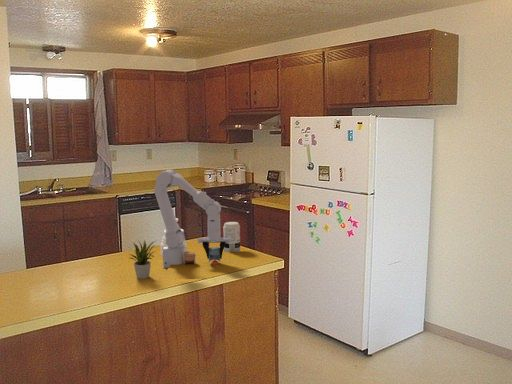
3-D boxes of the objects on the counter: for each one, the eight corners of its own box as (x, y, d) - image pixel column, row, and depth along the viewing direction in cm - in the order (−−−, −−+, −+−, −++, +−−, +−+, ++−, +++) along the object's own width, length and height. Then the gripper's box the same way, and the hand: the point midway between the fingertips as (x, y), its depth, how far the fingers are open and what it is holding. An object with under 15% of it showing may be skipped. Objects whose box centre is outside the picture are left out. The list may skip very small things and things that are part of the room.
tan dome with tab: (183, 268, 221) (183, 255, 220) (185, 265, 226) (185, 252, 225) (194, 268, 221) (194, 255, 220) (196, 265, 226) (195, 252, 225)
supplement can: (221, 251, 249) (220, 222, 246) (236, 249, 252) (236, 220, 250) (227, 255, 241) (226, 225, 239) (242, 253, 245) (242, 223, 242)
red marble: (211, 267, 222) (211, 261, 221) (212, 265, 225) (211, 259, 224) (217, 267, 222) (217, 261, 221) (218, 265, 224) (218, 259, 224)
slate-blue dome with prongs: (208, 262, 220) (208, 249, 219) (209, 259, 225) (209, 246, 224) (219, 262, 220) (219, 249, 219) (220, 259, 225) (220, 246, 224)
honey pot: (192, 252, 247) (191, 217, 245) (175, 258, 237) (173, 222, 234) (173, 249, 254) (171, 214, 252) (155, 254, 243) (154, 219, 241)
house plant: (168, 273, 215) (167, 236, 212) (153, 283, 202) (152, 244, 199) (139, 270, 219) (137, 234, 216) (122, 280, 205) (120, 242, 203)
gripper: (196, 230, 217) (197, 260, 219) (229, 230, 216) (229, 260, 218) (198, 227, 224) (199, 256, 226) (230, 227, 223) (231, 256, 225)
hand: (214, 258), depth 222 cm, fingers closed on slate-blue dome with prongs, 5 cm apart
